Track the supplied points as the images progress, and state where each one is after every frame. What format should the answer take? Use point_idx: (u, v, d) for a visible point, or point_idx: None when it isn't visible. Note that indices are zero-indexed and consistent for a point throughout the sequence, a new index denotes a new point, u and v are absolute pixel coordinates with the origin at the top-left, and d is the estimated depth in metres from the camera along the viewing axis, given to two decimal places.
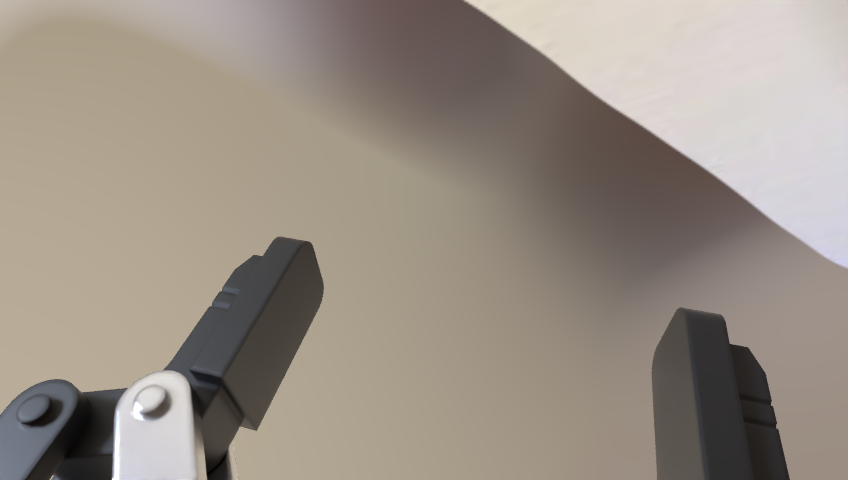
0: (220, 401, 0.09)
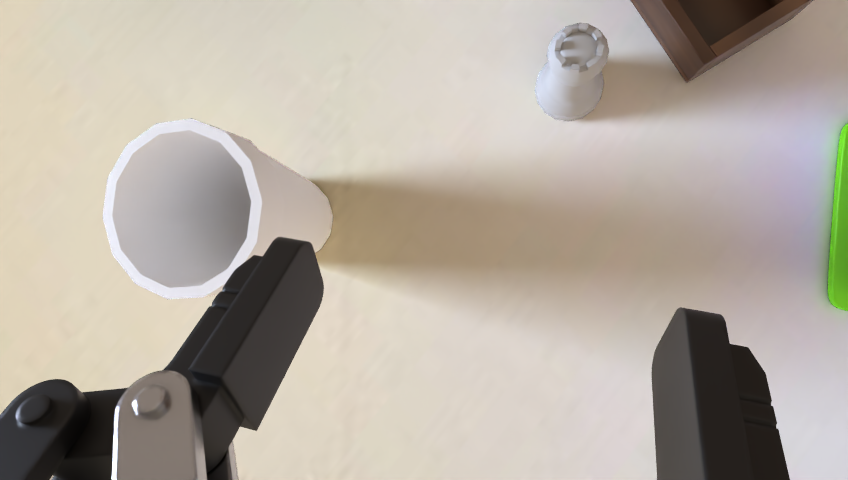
0: (220, 401, 0.09)
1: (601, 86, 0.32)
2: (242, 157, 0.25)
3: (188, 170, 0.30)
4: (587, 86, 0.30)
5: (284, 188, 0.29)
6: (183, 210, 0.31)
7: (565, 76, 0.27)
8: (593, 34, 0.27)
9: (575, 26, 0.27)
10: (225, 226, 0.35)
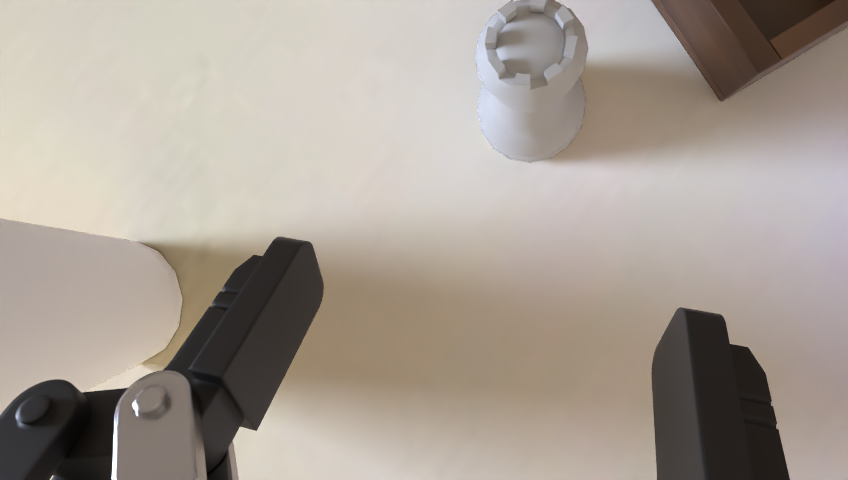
0: (220, 401, 0.09)
1: (581, 108, 0.20)
2: None
3: None
4: (556, 111, 0.18)
5: (5, 297, 0.16)
6: None
7: (507, 96, 0.15)
8: (557, 16, 0.14)
9: (525, 2, 0.14)
10: None
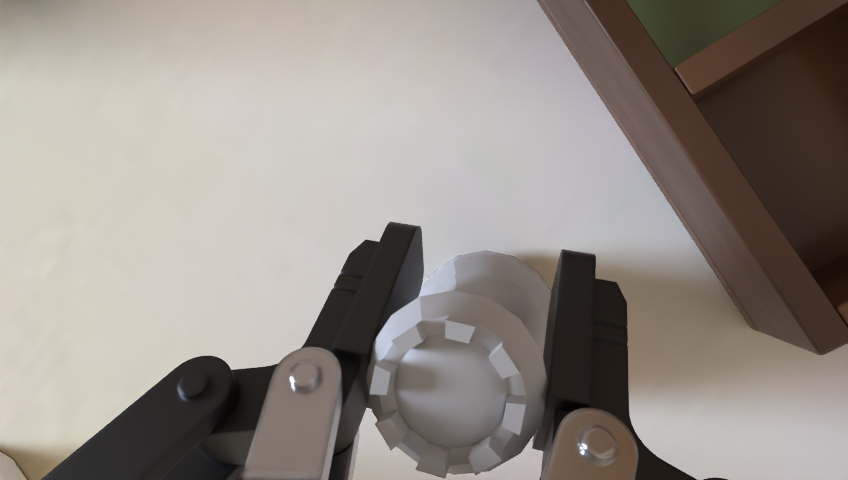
0: (359, 379, 0.09)
1: None
2: None
3: None
4: None
5: None
6: None
7: (415, 457, 0.09)
8: (492, 360, 0.08)
9: (442, 311, 0.09)
10: None
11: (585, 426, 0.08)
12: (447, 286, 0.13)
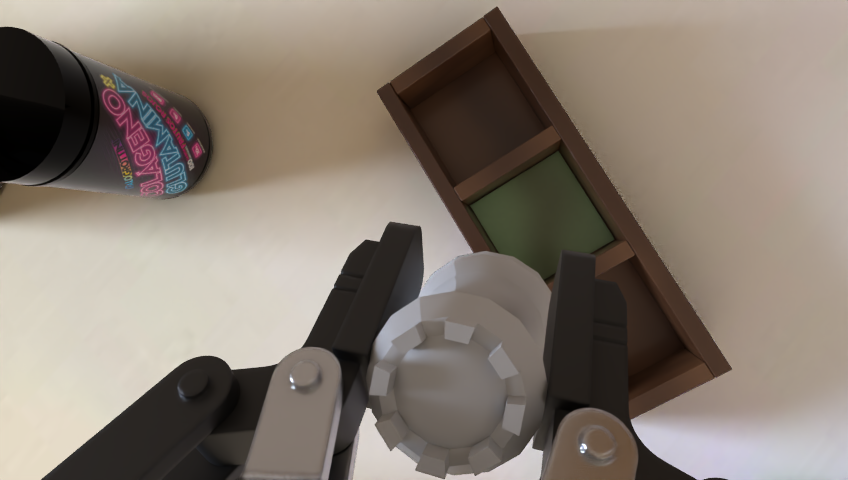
0: (359, 379, 0.09)
1: None
2: None
3: None
4: None
5: None
6: None
7: (415, 458, 0.09)
8: (491, 360, 0.08)
9: (442, 311, 0.09)
10: None
11: (585, 426, 0.08)
12: (447, 287, 0.13)
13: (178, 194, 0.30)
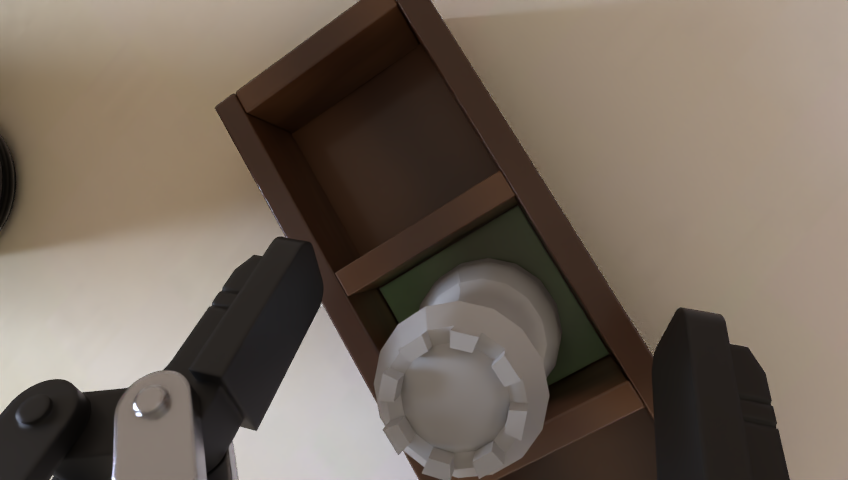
0: (220, 401, 0.09)
1: (554, 352, 0.14)
2: None
3: None
4: None
5: None
6: None
7: (421, 462, 0.09)
8: None
9: (447, 321, 0.09)
10: None
11: None
12: (451, 294, 0.14)
13: None
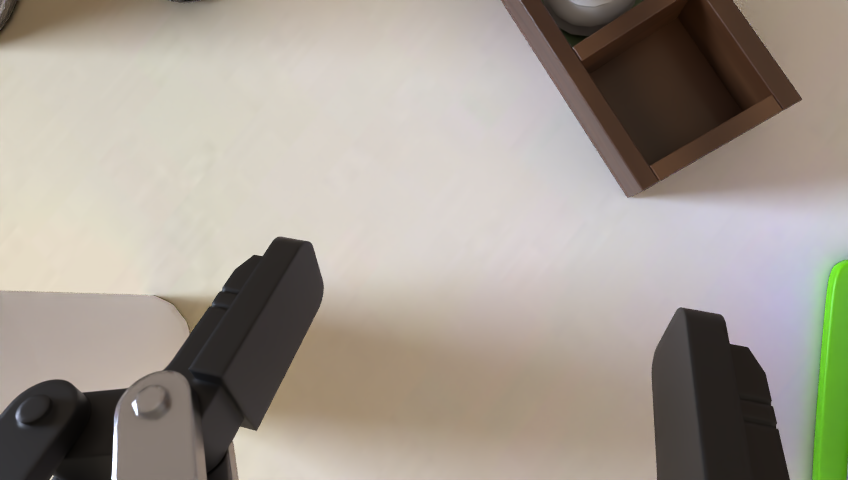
0: (220, 401, 0.09)
1: None
2: None
3: None
4: None
5: (61, 363, 0.21)
6: None
7: None
8: None
9: None
10: None
11: None
12: None
13: None
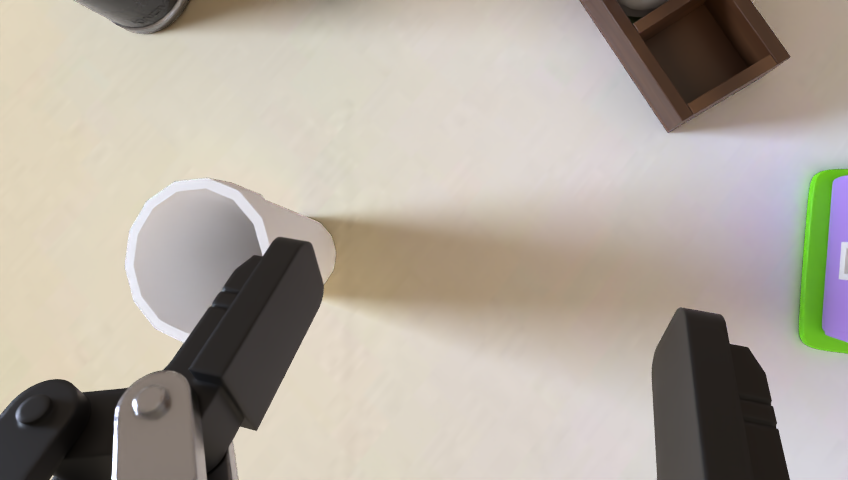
0: (220, 401, 0.09)
1: None
2: (254, 214, 0.27)
3: (202, 217, 0.33)
4: None
5: (291, 237, 0.31)
6: (197, 254, 0.34)
7: None
8: None
9: None
10: (235, 264, 0.37)
11: None
12: None
13: None
